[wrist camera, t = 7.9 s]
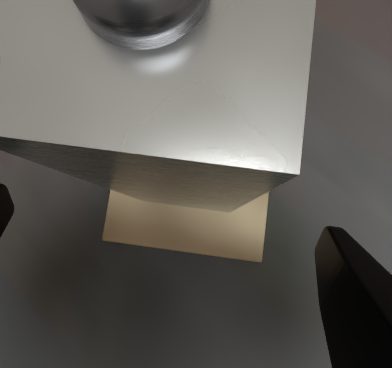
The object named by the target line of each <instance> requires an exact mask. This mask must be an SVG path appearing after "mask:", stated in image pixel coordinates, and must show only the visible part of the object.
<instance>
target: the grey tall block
mask: <svg viewBox="0 0 392 368" xmlns="http://www.w3.org/2000/svg"><path fill="white" fill-rule="evenodd" d="M315 5H316V0H0V150H2V151H5V152H8V153H10V154H13V155H16V156H19V157H21V158H24V159H27V160H30V161H33V162H35V163H38V164H41V165H44V166H47V167H49V168H52V169H55V170H58V171H60V172H63V173H66V174H69V175H72V176H74V177H77V178H80V179H83V180H86V181H88V182H91V183H94V184H97V185H100V186H102V187H105V188H108V189H111V190H113V191H116V192H119V193H122V194H125V195H127V196H130V197H133V198H136V199H139V200H141V201H147V202H154V203H161V204H169V205H176V206H183V207H191V208H198V209H205V210H213V211H220V212H227V213H230V212H232V211H234V210H236V209H238V208H239V207H241V206H243V205H245V204H247V203H248V202H250V201H252V200H254V199H256V198H258V197H259V196H261V195H263V194H265V193H267V192H269V191H270V190H272V189H274V188H276V187H278V186H280V185H281V184H283V183H285V182H287V181H289V180H291V179H292V178H294V177H296V176H298V175H299V173H300V163H301V152H302V142H303V131H304V121H305V110H306V100H307V89H308V79H309V68H310V58H311V47H312V37H313V26H314V16H315Z"/></svg>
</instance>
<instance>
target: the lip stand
mask: <svg viewBox="0 0 392 368" xmlns="http://www.w3.org/2000/svg"><path fill="white" fill-rule="evenodd" d="M268 196H269V192H267V193H265V194H263V195H261V196H259V197H258V198H256V199H254V200H252V201H250V202H248V203H247V204H245V205H243V206H241V207H239V208H238V209H236V210H234V211H232V212H230V213H227V212H220V211H213V210H205V209H198V208H191V207H183V206H176V205H169V204H161V203H154V202H147V201H141V200H139V199H136V198H133V197H130V196H127V195H125V194H122V193H119V192H116V191H113V190H110V196H109V202H108V207H107V213H106V219H105V225H104V231H103V237H102V240H103V241H110V242H117V243H125V244H132V245H139V246H146V247H153V248H161V249H168V250H175V251H182V252H189V253H197V254H204V255H211V256H218V257H225V258H233V259H240V260H247V261H254V262H261V263H262V255H263V245H264V236H265V226H266V216H267V206H268Z"/></svg>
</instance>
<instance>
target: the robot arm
mask: <svg viewBox="0 0 392 368" xmlns="http://www.w3.org/2000/svg"><path fill="white" fill-rule="evenodd" d="M13 213H14V204H13V201H12V199H11V196H10V194H9V191H8V189H7V187H6V186H5V185H4V184H0V237H1V236H2V234H3V232H4V230H5V228H6V226H7V224H8V223H9V221H10V219H11V217H12V215H13ZM315 263H316V274H317V285H318V297H319V306H320V311H321V317H322V322H323V326H324V331H325V336H326V341H327V346H328V350H329V355H330V360H331V365H332V368H392V275H391V274H390V273H389V272H388V271H387V270H386V269H385V268H384V267H383V266H382V265H381V264H380V263H379V262H378V261H377V260H375V259H374V258H373V257H372V256H371V255H370V254H369V253H368V252H367V251H366V250H365V249H364V248H363V247H362V246H361V245H360V244H359V243H358V242H357V241H355V240H354V239H353V238H352V237H351V236H350V235H349V234H348V233H347V232H346V231H345V230H344V229H342V228H340V227H333V226H326V227H325V228H324V229H323V231H322V233H321V236H320V238H319V240H318V242H317V245H316V247H315Z"/></svg>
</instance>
